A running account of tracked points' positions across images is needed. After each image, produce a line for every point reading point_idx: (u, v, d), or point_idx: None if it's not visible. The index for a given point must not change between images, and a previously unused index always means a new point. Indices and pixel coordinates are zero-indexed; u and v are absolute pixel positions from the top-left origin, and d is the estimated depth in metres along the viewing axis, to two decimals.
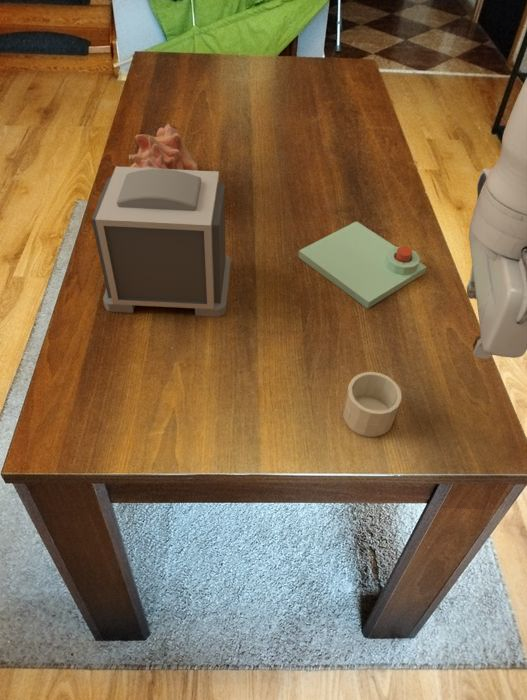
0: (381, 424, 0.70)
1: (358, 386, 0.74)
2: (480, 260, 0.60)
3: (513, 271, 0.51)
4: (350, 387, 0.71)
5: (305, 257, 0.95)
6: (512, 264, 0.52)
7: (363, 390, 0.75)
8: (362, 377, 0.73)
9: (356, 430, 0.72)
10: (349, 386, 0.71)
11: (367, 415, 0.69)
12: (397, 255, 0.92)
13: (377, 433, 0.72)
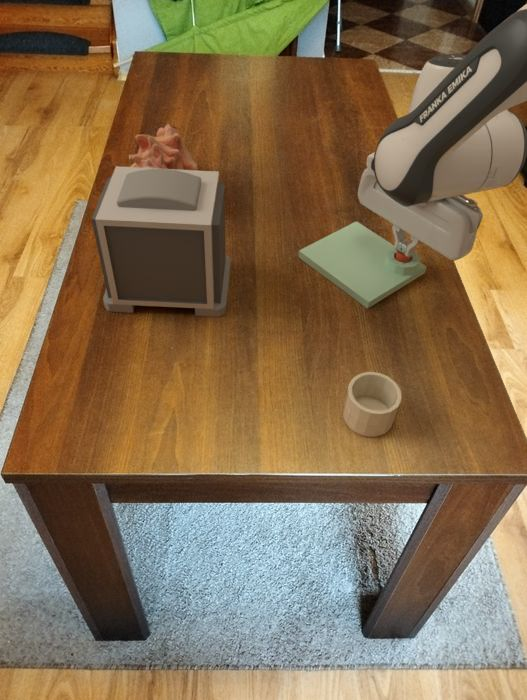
0: (381, 424, 0.70)
1: (358, 386, 0.74)
2: (399, 212, 0.86)
3: (450, 206, 0.80)
4: (350, 387, 0.71)
5: (305, 257, 0.95)
6: (445, 202, 0.80)
7: (363, 390, 0.75)
8: (362, 377, 0.73)
9: (356, 430, 0.72)
10: (349, 386, 0.71)
11: (367, 415, 0.69)
12: (397, 256, 0.92)
13: (377, 433, 0.72)
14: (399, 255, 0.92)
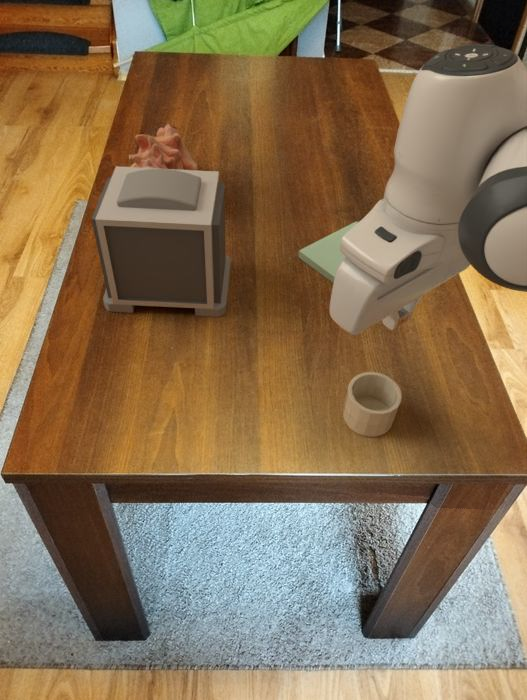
0: (381, 424, 0.70)
1: (358, 386, 0.74)
2: (412, 288, 0.60)
3: None
4: (350, 387, 0.71)
5: (305, 257, 0.95)
6: None
7: (363, 390, 0.75)
8: (362, 377, 0.73)
9: (356, 430, 0.72)
10: (349, 386, 0.71)
11: (367, 415, 0.69)
12: None
13: (377, 433, 0.72)
14: None
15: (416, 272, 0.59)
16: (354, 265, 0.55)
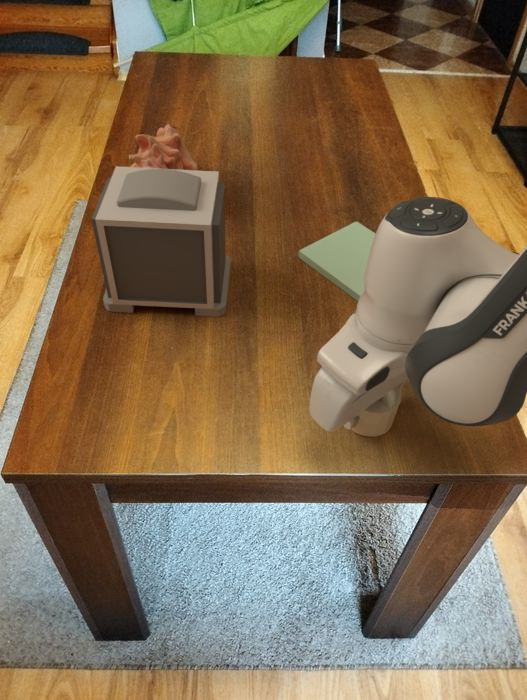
0: (381, 424, 0.70)
1: None
2: (383, 386, 0.66)
3: None
4: None
5: (305, 257, 0.95)
6: None
7: None
8: None
9: (356, 430, 0.72)
10: None
11: (367, 415, 0.69)
12: None
13: (377, 433, 0.72)
14: None
15: None
16: (330, 375, 0.61)
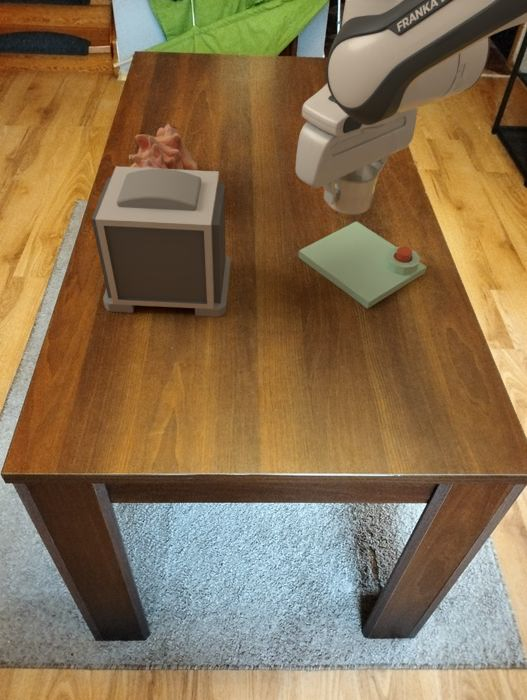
0: (359, 197, 0.80)
1: None
2: (360, 153, 0.76)
3: None
4: None
5: (305, 257, 0.95)
6: None
7: (344, 180, 0.85)
8: None
9: (338, 208, 0.82)
10: None
11: (347, 186, 0.79)
12: (397, 255, 0.92)
13: (356, 210, 0.82)
14: (399, 254, 0.92)
15: (363, 139, 0.75)
16: (313, 126, 0.71)
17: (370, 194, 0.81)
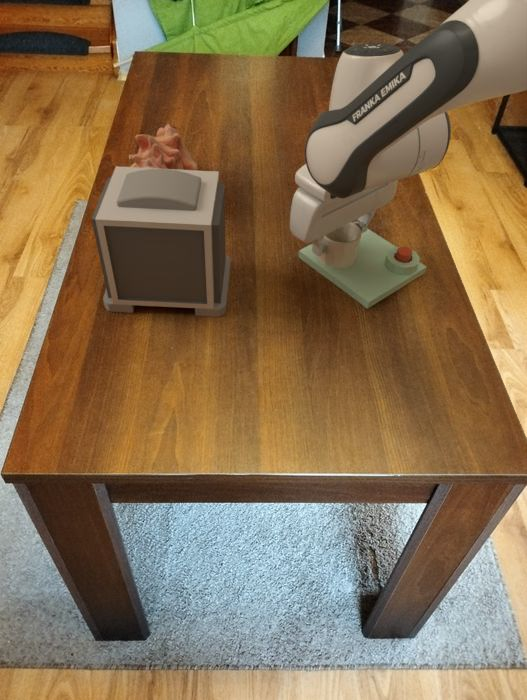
0: (345, 255, 0.91)
1: None
2: (347, 211, 0.85)
3: None
4: None
5: (305, 257, 0.95)
6: None
7: (333, 237, 0.95)
8: None
9: (326, 263, 0.92)
10: None
11: (334, 246, 0.89)
12: (397, 255, 0.92)
13: (343, 265, 0.92)
14: (399, 254, 0.92)
15: (349, 199, 0.84)
16: (304, 191, 0.80)
17: (355, 252, 0.91)
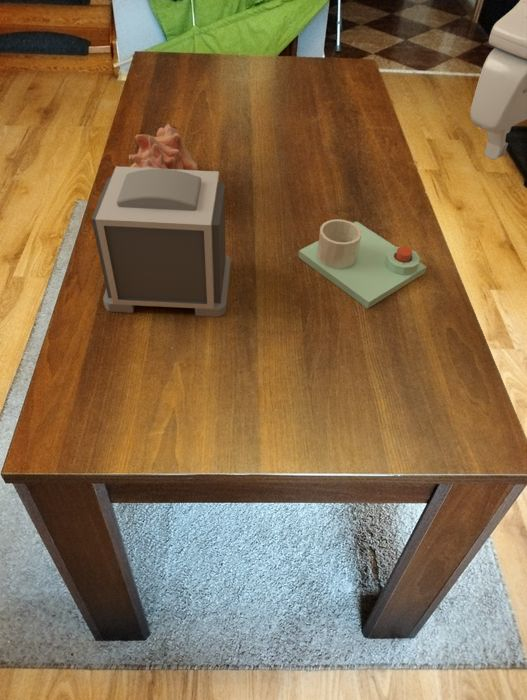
0: (345, 255, 0.91)
1: (328, 232, 0.94)
2: None
3: None
4: (321, 228, 0.91)
5: (305, 257, 0.95)
6: None
7: (333, 237, 0.95)
8: (332, 223, 0.93)
9: (326, 263, 0.92)
10: (321, 227, 0.91)
11: (334, 246, 0.89)
12: (397, 255, 0.92)
13: (343, 265, 0.92)
14: (399, 254, 0.92)
15: None
16: (504, 54, 0.57)
17: (355, 252, 0.91)
